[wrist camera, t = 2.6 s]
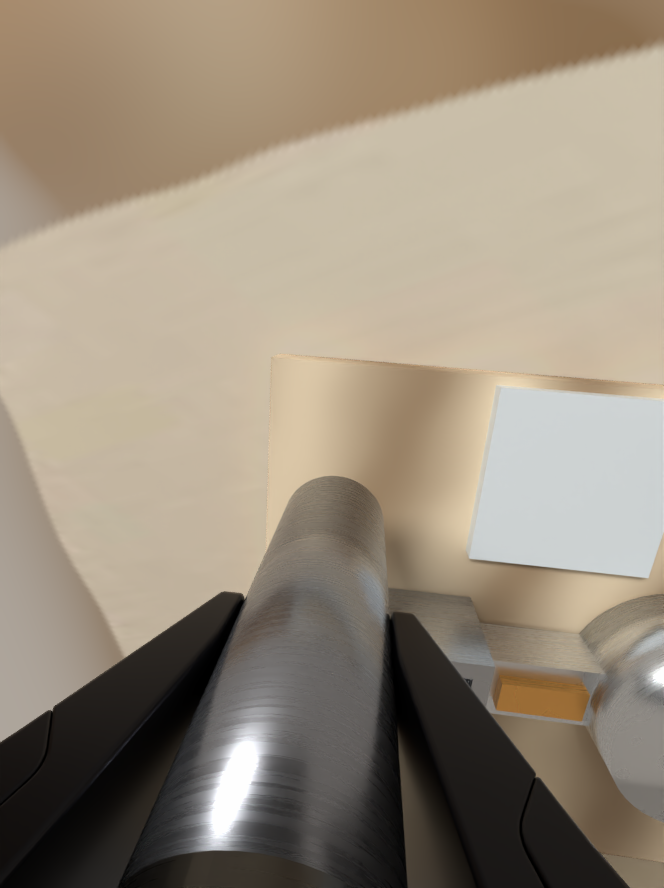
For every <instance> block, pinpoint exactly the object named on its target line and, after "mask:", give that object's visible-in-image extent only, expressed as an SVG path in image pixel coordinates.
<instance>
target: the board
mask: <svg viewBox="0 0 664 888" xmlns="http://www.w3.org/2000/svg"><path fill="white" fill-rule="evenodd" d="M496 385H504V386H516V387H528V388H540V389H552V390H564V391H576V392H588V393H600V394H612V395H624V396H636V397H648V398H660V399H664V385H656V384H644V383H631V382H619V381H607V380H594V379H582V378H570V377H557V376H545V375H533V374H520V373H508V372H496V371H484V370H471V369H459V368H447V367H434V366H422V365H410V364H397V363H385V362H373V361H360V360H348V359H336V358H323V357H311V356H299V355H286V354H279V355H276V356H274V357H271V385H270V419H269V454H268V488H267V523H266V551H267V549H268V546H269V544H270V542H271V540H272V537H273V535H274V533H275V531H276V528H277V526H278V524H279V522H280V519H281V517H282V515H283V513H284V510H285V508H286V506H287V504H288V501H289V499H290V498H291V496H292V495H293V494H294V492H295V491H296V490H297V489H298V488H299V487H300V486H302V485H303V484H305V483H306V482H308V481H310V480H313V479H315V478H319V477H323V476H340V477H345V478H349V479H352V480H354V481H356V482H358V483H360V484H362V485H363V486H364V487H366V488H367V489H368V490H369V491H370V492H371V493H372V494H373V495H374V496H375V498H376V499H377V501H378V503H379V504H380V507H381V509H382V513H383V519H384V533H385V548H386V564H387V579H388V588H394V589H402V590H411V591H420V592H428V593H437V594H446V595H454V596H463V597H471V600H472V602H473V605H474V608H475V611H476V614H477V617H478V619H479V622H483V623H491V624H500V625H508V626H517V627H525V628H534V629H542V630H551V631H559V632H567V633H576V634H579V633H580V632H581V631H582V630H583V629H584V628H585V627H586V626H587V625H588V624H589V623H590V622H591V621H592V620H594V619H595V618H596V617H597V616H599V615H600V614H602V613H603V612H605V611H607V610H608V609H610V608H612V607H614V606H616V605H618V604H620V603H623V602H626V601H629V600H631V599H635V598H639V597H643V596H648V595H655V594H664V533H663V536H662V539H661V542H660V545H659V548H658V551H657V554H656V557H655V560H654V563H653V566H652V569H651V572H650V575H649V578H642V577H633V576H624V575H615V574H605V573H596V572H587V571H578V570H569V569H560V568H550V567H541V566H532V565H523V564H514V563H505V562H496V561H486V560H477V559H469V557H468V555H467V552H466V545H467V540H468V534H469V529H470V524H471V518H472V513H473V507H474V502H475V496H476V491H477V486H478V480H479V475H480V469H481V464H482V459H483V453H484V448H485V442H486V437H487V432H488V426H489V421H490V415H491V410H492V404H493V399H494V394H495V388H496ZM491 715H492V716H493V717H494V719H495V720H496V721H497V722H498V724H499V725H500V726H501V728H502V729H503V730H504V732H505V733H506V734H507V736H508V737H509V738H510V739H511V741H512V742H513V743H514V745H515V746H516V747H517V749H518V750H519V751H520V752H521V754H522V755H523V756H524V758H525V759H526V760H527V762H528V763H529V764H530V765H531V767H532V768H533V769H534V771H535V772H536V777H539V778H541V779H542V781H543V782H544V783H545V785H546V786H547V787H548V789H549V790H550V791H551V792H552V794H553V795H554V796H555V798H556V799H557V800H558V802H559V803H560V804H561V805H562V807H563V808H564V809H565V810H566V812H567V813H568V814H569V815H570V817H571V818H572V819H573V820H574V822H575V823H576V824H577V825H578V827H579V828H580V829H581V830H582V832H583V833H584V834H585V835H586V837H587V838H588V839H589V840H590V842H591V843H592V844H593V845H594V847H595V848H596V849H597V850H598V851H599V852H600V853H604V854H611V855H617V856H624V857H631V858H637V859H644V860H651V861H657V862H664V823H663V822H661V821H658V820H656V819H654V818H652V817H650V816H648V815H646V814H644V813H643V812H641V811H640V810H638V809H637V808H636V807H634V806H633V805H632V804H631V803H630V802H629V801H628V800H627V799H626V798H625V797H624V796H623V794H622V793H621V792H620V790H619V789H618V787H617V785H616V783H615V781H614V779H613V778H612V776H611V774H610V772H609V770H608V768H607V766H606V764H605V762H604V760H603V758H602V757H601V755H600V753H599V751H598V749H597V747H596V745H595V743H594V741H593V739H592V737H591V736H590V734H589V732H588V730H587V728H586V726H584V725H576V724H568V723H561V722H553V721H546V720H538V719H530V718H523V717H515V716H508V715H500V714H492V713H491ZM536 777H535V778H536Z"/></svg>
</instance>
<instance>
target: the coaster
mask: <svg viewBox="0 0 664 888" xmlns="http://www.w3.org/2000/svg"><path fill="white" fill-rule="evenodd" d="M663 533H664V399H660V398H648V397H636V396H624V395H612V394H600V393H588V392H576V391H564V390H552V389H540V388H528V387H516V386H504V385H496V388H495V394H494V399H493V404H492V410H491V415H490V421H489V426H488V432H487V437H486V442H485V448H484V453H483V459H482V464H481V469H480V475H479V480H478V486H477V491H476V496H475V502H474V507H473V513H472V518H471V524H470V529H469V534H468V540H467V545H466V552H467V555H468V557H469V559H477V560H486V561H496V562H505V563H514V564H523V565H532V566H541V567H550V568H560V569H569V570H578V571H587V572H596V573H605V574H615V575H624V576H633V577H642V578H649V575H650V572H651V569H652V566H653V563H654V560H655V557H656V554H657V551H658V548H659V545H660V542H661V539H662V536H663Z"/></svg>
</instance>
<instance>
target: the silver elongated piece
mask: <svg viewBox="0 0 664 888" xmlns="http://www.w3.org/2000/svg"><path fill="white" fill-rule="evenodd" d="M388 594H389V609H390V617H391V614H392V612H394V611H399V612H408V613H413V614H414V615H415V616H416V617H417V618H418V620H419V621H420V622H421V623H422V625H423V626H424V627H425V629H426V630H427V631H428V633H429V634H430V635H431V636H432V638H433V639H434V640H435V642H436V643H437V644H438V646H439V647H440V648H441V650H442V651H443V652H444V653H445V655H446V656H447V657H448V659H449V660H450V661H451V663H452V664H453V665H454V666H455V668H456V669H457V670H458V672H459V673H460V674H461V676H462V677H463V678H464V679H465V681H466V682H467V683H468V685H469V686H470V687H471V689H472V690H473V691H474V693H475V694H476V695H477V696H478V698H479V699H480V700H481V702H482V703H483V704H484V706H485V707H486V708H487V709H488V711H489V712H490V713H492V714H500V715H508V716H515V717H523V718H530V719H538V720H546V721H553V722H561V723H568V724H576V725H584V726H586V728H587V730H588V732H589V734H590V736H591V737H592V739H593V741H594V743H595V745H596V747H597V749H598V751H599V753H600V755H601V757H602V758H603V760H604V762H605V764H606V766H607V768H608V770H609V772H610V774H611V776H612V778H613V779H614V781H615V783H616V785H617V787H618V789H619V790H620V792H621V793H622V794H623V796H624V797H625V798H626V799H627V800H628V801H629V802H630V803H631V804H632V805H633V806H634V807H636V808H637V809H638V810H640V811H641V812H643V813H644V814H646V815H648V816H650V817H652V818H654V819H656V820H658V821H661V822H663V823H664V594H655V595H648V596H643V597H639V598H635V599H631V600H629V601H626V602H623V603H620V604H618V605H616V606H614V607H612V608H610V609H608V610H607V611H605V612H603V613H602V614H600V615H599V616H597V617H596V618H595V619H594V620H592V621H591V622H590V623H589V624H588V625H587V626H586V627H585V628H584V629H583V630H582V631H581V632H580V633H579V634H576V633H567V632H559V631H551V630H542V629H534V628H525V627H517V626H508V625H500V624H491V623H483V622H479V619H478V617H477V614H476V611H475V608H474V605H473V602H472V600H471V597H463V596H454V595H446V594H437V593H428V592H420V591H411V590H402V589H394V588H388Z"/></svg>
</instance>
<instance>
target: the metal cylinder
mask: <svg viewBox="0 0 664 888" xmlns="http://www.w3.org/2000/svg"><path fill="white" fill-rule="evenodd" d="M117 888H408V884H407V868H406V853H405V838H404V823H403V808H402V792H401V777H400V762H399V747H398V731H397V716H396V701H395V687H394V673H393V658H392V642H391V627H390V609H389V594H388V579H387V564H386V548H385V533H384V519H383V513H382V509H381V507H380V504H379V503H378V501H377V499H376V498H375V496H374V495H373V494H372V493H371V492H370V491H369V490H368V489H367V488H366V487H364V486H363V485H362V484H360V483H358V482H356V481H354V480H352V479H349V478H345V477H340V476H323V477H319V478H315V479H313V480H310V481H308V482H306V483H305V484H303V485H302V486H300V487H299V488H298V489H297V490H296V491H295V492H294V494H293V495H292V496H291V498H290V499H289V501H288V504H287V506H286V508H285V510H284V513H283V515H282V517H281V519H280V522H279V524H278V526H277V528H276V531H275V533H274V535H273V537H272V540H271V542H270V544H269V546H268V549H267V551H266V553H265V555H264V558H263V560H262V562H261V564H260V567H259V569H258V571H257V573H256V576H255V578H254V580H253V582H252V585H251V587H250V589H249V591H248V594H247V596H246V598H245V601H244V603H243V605H242V607H241V610H240V612H239V614H238V616H237V619H236V621H235V623H234V625H233V628H232V630H231V632H230V634H229V637H228V639H227V641H226V643H225V646H224V648H223V650H222V652H221V655H220V657H219V659H218V661H217V664H216V666H215V668H214V670H213V673H212V675H211V677H210V679H209V682H208V684H207V686H206V688H205V691H204V693H203V695H202V697H201V700H200V702H199V704H198V706H197V709H196V711H195V713H194V715H193V718H192V720H191V722H190V725H189V727H188V729H187V731H186V734H185V736H184V738H183V740H182V743H181V745H180V747H179V749H178V752H177V754H176V756H175V758H174V761H173V763H172V765H171V767H170V770H169V772H168V774H167V776H166V779H165V781H164V783H163V785H162V788H161V790H160V792H159V794H158V797H157V799H156V801H155V803H154V806H153V808H152V810H151V812H150V815H149V817H148V819H147V821H146V824H145V826H144V828H143V830H142V833H141V835H140V837H139V839H138V842H137V844H136V846H135V849H134V851H133V853H132V855H131V858H130V860H129V862H128V864H127V867H126V869H125V871H124V873H123V876H122V878H121V880H120V882H119V885H118V887H117Z"/></svg>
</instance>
